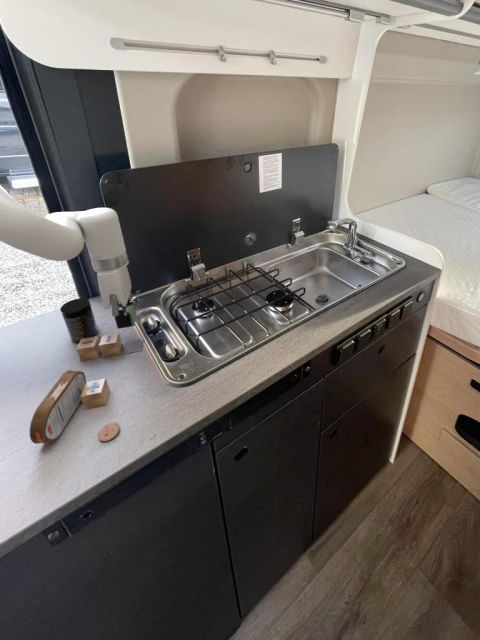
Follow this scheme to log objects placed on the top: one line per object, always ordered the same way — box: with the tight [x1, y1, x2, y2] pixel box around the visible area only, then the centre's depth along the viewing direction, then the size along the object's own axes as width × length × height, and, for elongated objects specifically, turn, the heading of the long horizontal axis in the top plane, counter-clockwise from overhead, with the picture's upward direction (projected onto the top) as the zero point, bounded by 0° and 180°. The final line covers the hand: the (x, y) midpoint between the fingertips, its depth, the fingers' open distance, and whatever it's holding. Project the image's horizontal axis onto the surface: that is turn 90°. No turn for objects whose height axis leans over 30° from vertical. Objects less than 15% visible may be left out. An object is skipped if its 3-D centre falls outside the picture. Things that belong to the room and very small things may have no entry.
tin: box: [29, 369, 87, 445], centre depth 68 cm, size 15×3×8 cm, turn 4°
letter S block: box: [113, 304, 138, 330], centre depth 85 cm, size 4×4×4 cm
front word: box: [81, 377, 110, 410], centre depth 73 cm, size 4×4×4 cm
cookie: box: [97, 422, 120, 442], centre depth 66 cm, size 4×4×1 cm
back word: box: [76, 332, 144, 362], centre depth 87 cm, size 14×5×4 cm, turn 107°
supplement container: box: [59, 297, 99, 344], centre depth 90 cm, size 7×7×10 cm
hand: (126, 320), depth 85 cm, fingers closed on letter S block, 4 cm apart
